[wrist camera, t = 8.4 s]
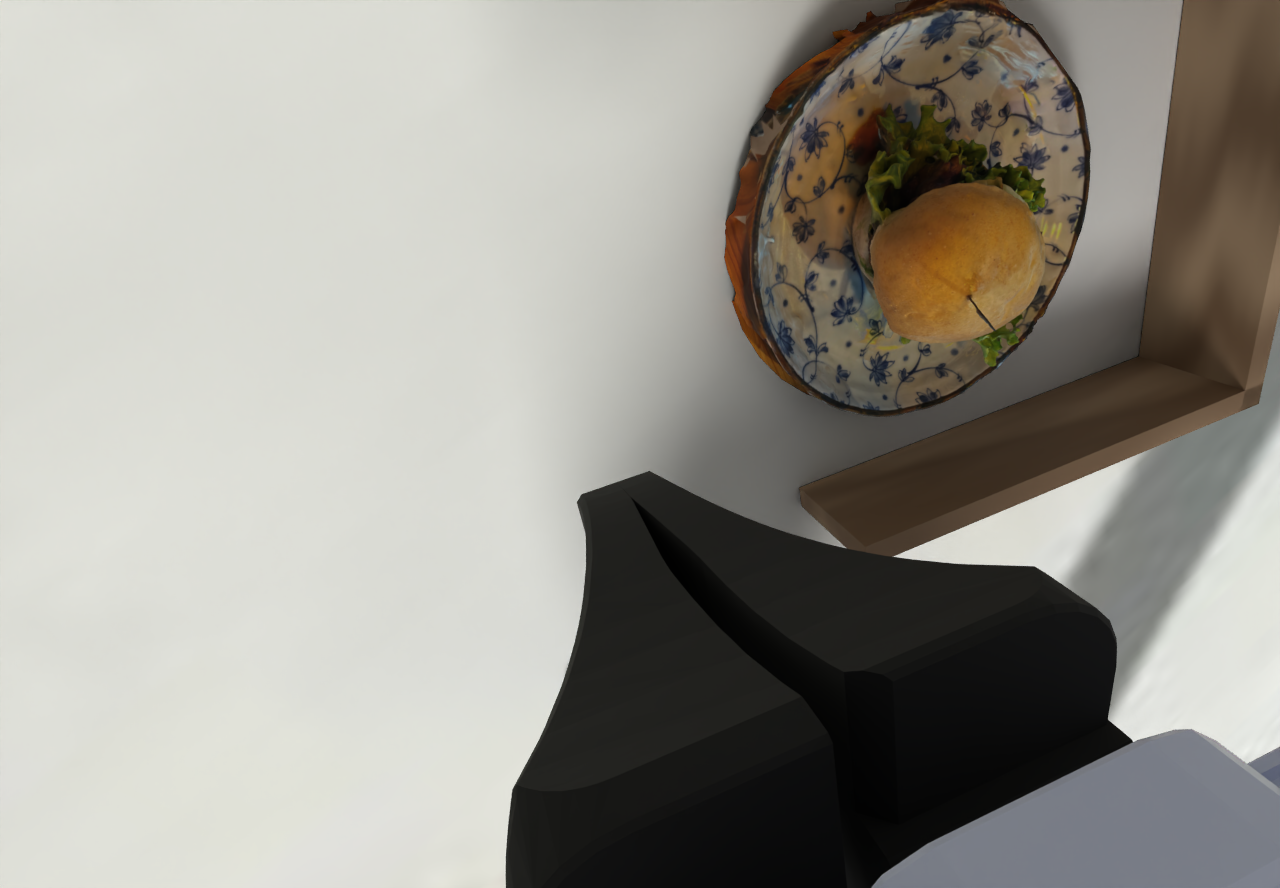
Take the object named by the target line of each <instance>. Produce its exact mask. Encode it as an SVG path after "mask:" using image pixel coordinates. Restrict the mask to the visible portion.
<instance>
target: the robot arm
mask: <svg viewBox="0 0 1280 888" xmlns="http://www.w3.org/2000/svg"><path fill="white" fill-rule="evenodd" d="M577 504H578V508H579V512H580V515H581V519H582V522H583V526H584V529H585V533H586V574H585V585H584V596H583V603H582V610H581V616H580V621H579V626H578V630H577V635H576V639H575V643H574V647H573V651H572V654H571V658H570V661H569V665H568V668H567V671H566V675H565V678H564V681H563V684H562V686H561V689H560V692H559V694H558V696H557V699H556V701H555V704H554V706H553V709H552V711H551V714H550V716H549V719H548V721H547V723H546V726H545V728H544V730H543V733H542V735H541V737H540V739H539V741H538V743H537V745H536V747H535V749H534V750H533V752H532V754H531V756H530V758H529V760H528V762H527V764H526V765H525V767H524V769H523V771H522V773H521V775H520V777H519V779H518V780H517V782H516V784H515V786H514V788H513V790H512V798H511V806H510V815H509V824H508V835H507V848H506V888H1280V747H1279V748H1277V749H1275V750H1273V751H1271V752H1269V753H1267V754H1265V755H1263V756H1261V757H1259V758H1257V759H1255V760H1254V761H1252V762H1250V763H1248V764H1246V763H1245V762H1244V761H1242V760H1241V759H1240V758H1238V757H1237V756H1236V755H1234V754H1233V753H1232V752H1230V751H1229V750H1228V749H1226V748H1225V747H1224V746H1222V745H1221V744H1220V743H1218V742H1217V741H1216V740H1214V739H1211V738H1209V737H1207V736H1205V735H1203V734H1201V733H1199V732H1197V731H1194V730H1192V729H1182V730H1172V731H1169V732H1165V733H1161V734H1158V735H1154V736H1151V737H1147V738H1144V739H1140V740H1137V741H1135V742H1133V741H1132V739H1130V738H1129V737H1128V736H1127V735H1126V734H1124V733H1123V732H1122V731H1121V730H1120V729H1118V728H1117V727H1116V726H1115V725H1114V724H1112V723H1111V722H1110V721H1109V720H1108V713H1109V707H1110V701H1111V695H1112V689H1113V683H1114V677H1115V671H1116V659H1117V641H1116V636H1115V633H1114V631H1113V628H1112V625H1111V622H1110V620H1109V619H1107V618H1106V617H1105V616H1104V615H1103V614H1102V613H1101V612H1100V611H1099V610H1098V609H1097V608H1095V607H1094V606H1092V605H1091V604H1090V603H1088V602H1087V601H1085V600H1084V599H1082V598H1081V597H1079V596H1078V595H1076V594H1075V593H1074V592H1072V591H1071V590H1069V589H1068V588H1066V587H1065V586H1063V585H1062V584H1061V583H1059V582H1058V581H1056V580H1055V579H1053V578H1052V577H1050V576H1049V575H1047V574H1046V573H1044V572H1043V571H1041V570H1039V569H1038V568H1036V567H1034V566H1001V565H968V564H951V563H941V562H931V561H921V560H912V559H904V558H897V557H890V556H883V555H878V554H873V553H867V552H862V551H857V550H851V549H846V548H842V547H837V546H833V545H829V544H825V543H821V542H817V541H814V540H810V539H807V538H803V537H800V536H796V535H793V534H789V533H786V532H783V531H780V530H777V529H774V528H771V527H769V526H766V525H764V524H761V523H758V522H756V521H753V520H750V519H748V518H745V517H743V516H740V515H738V514H736V513H733V512H731V511H728V510H726V509H724V508H722V507H720V506H717V505H715V504H713V503H711V502H709V501H707V500H705V499H703V498H701V497H698V496H696V495H694V494H692V493H690V492H689V491H687V490H685V489H683V488H681V487H679V486H677V485H675V484H673V483H671V482H669V481H667V480H665V479H664V478H662V477H660V476H658V475H656V474H654V473H652V472H650V471H648V472H645V473H642V474H640V475H637V476H634V477H631V478H628V479H625V480H622V481H619V482H616V483H613V484H610V485H608V486H605V487H602V488H599V489H596V490H593V491H590V492H587V493H584V494H582V495H581V496H580V498H579V500H578V501H577Z"/></svg>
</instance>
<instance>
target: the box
mask: <svg viewBox="0 0 1280 888" xmlns="http://www.w3.org/2000/svg"><path fill="white" fill-rule="evenodd" d="M1279 309H1280V0H1184V4H1183V12H1182V20H1181V28H1180V36H1179V44H1178V52H1177V59H1176V67H1175V75H1174V83H1173V91H1172V99H1171V107H1170V115H1169V123H1168V130H1167V138H1166V146H1165V154H1164V162H1163V170H1162V178H1161V186H1160V194H1159V202H1158V209H1157V217H1156V225H1155V233H1154V241H1153V249H1152V257H1151V265H1150V273H1149V281H1148V288H1147V296H1146V304H1145V312H1144V320H1143V328H1142V336H1141V344H1140V352H1139V357H1136V358H1133V359H1131V360H1128V361H1126V362H1123V363H1121V364H1118V365H1115V366H1113V367H1110V368H1108V369H1105V370H1102V371H1100V372H1097V373H1095V374H1092V375H1090V376H1087V377H1084V378H1082V379H1079V380H1077V381H1074V382H1071V383H1069V384H1066V385H1064V386H1061V387H1058V388H1056V389H1053V390H1051V391H1048V392H1046V393H1043V394H1040V395H1038V396H1035V397H1033V398H1030V399H1027V400H1025V401H1022V402H1020V403H1017V404H1015V405H1012V406H1009V407H1007V408H1004V409H1002V410H999V411H996V412H994V413H991V414H989V415H986V416H983V417H981V418H978V419H976V420H973V421H971V422H968V423H965V424H963V425H960V426H958V427H955V428H952V429H950V430H947V431H945V432H942V433H940V434H937V435H934V436H932V437H929V438H927V439H924V440H921V441H919V442H916V443H914V444H911V445H909V446H906V447H903V448H901V449H898V450H896V451H893V452H890V453H888V454H885V455H883V456H880V457H877V458H875V459H872V460H870V461H867V462H865V463H862V464H859V465H857V466H854V467H852V468H849V469H846V470H844V471H841V472H839V473H836V474H834V475H831V476H828V477H826V478H823V479H821V480H818V481H815V482H813V483H810V484H808V485H805V486H802V487H800V488H799V489H800V497H801V504H802V507H803V508H804V509H805V510H806V511H807V512H809V513H810V514H811V515H812V516H813V517H814V518H815V519H816V520H817V521H818V522H819V523H820V524H821V525H822V526H824V527H825V528H826V529H827V530H828V531H829V532H830V533H831V534H832V535H833V536H834V537H835V538H836V539H837V540H839V541H840V542H841V543H842V544H843V545H844V546H845V547H846V548H847V549H851V550H857V551H862V552H867V553H873V554H878V555H883V556H890V557H893V556H895V555H898V554H900V553H902V552H905V551H907V550H910V549H912V548H914V547H917V546H919V545H922V544H924V543H926V542H929V541H931V540H934V539H936V538H938V537H941V536H943V535H946V534H948V533H950V532H953V531H955V530H958V529H960V528H962V527H965V526H967V525H969V524H972V523H974V522H977V521H979V520H981V519H984V518H986V517H989V516H991V515H993V514H996V513H998V512H1001V511H1003V510H1005V509H1008V508H1010V507H1013V506H1015V505H1017V504H1020V503H1022V502H1025V501H1027V500H1029V499H1032V498H1034V497H1036V496H1039V495H1041V494H1044V493H1046V492H1048V491H1051V490H1053V489H1056V488H1058V487H1060V486H1063V485H1065V484H1068V483H1070V482H1072V481H1075V480H1077V479H1080V478H1082V477H1084V476H1087V475H1089V474H1092V473H1094V472H1096V471H1099V470H1101V469H1104V468H1106V467H1108V466H1111V465H1113V464H1115V463H1118V462H1120V461H1123V460H1125V459H1127V458H1130V457H1132V456H1135V455H1137V454H1139V453H1142V452H1144V451H1147V450H1149V449H1151V448H1154V447H1156V446H1159V445H1161V444H1163V443H1166V442H1168V441H1171V440H1173V439H1175V438H1178V437H1180V436H1182V435H1185V434H1187V433H1190V432H1192V431H1194V430H1197V429H1199V428H1202V427H1204V426H1206V425H1209V424H1211V423H1214V422H1216V421H1218V420H1221V419H1223V418H1226V417H1228V416H1230V415H1233V414H1235V413H1238V412H1240V411H1242V410H1245V409H1247V408H1250V407H1252V406H1254V405H1257V404H1259V399H1260V395H1261V390H1262V386H1263V381H1264V377H1265V372H1266V368H1267V363H1268V359H1269V354H1270V350H1271V345H1272V340H1273V336H1274V331H1275V327H1276V322H1277V318H1278V313H1279Z"/></svg>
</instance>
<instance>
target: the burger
mask: <svg viewBox="0 0 1280 888" xmlns="http://www.w3.org/2000/svg"><path fill="white" fill-rule="evenodd" d="M833 35H834V38H835V39H838V40H839V42H838V43H837V44H836V45H834V46H833V47H831V48H830V49H828V50H826V51H824V52H821V53H820V54H818V55H816V56H815V57H813V58H812V59H810V60H809V61H808V62H806V63H805V64H803V65H802V66H801V67H799V68H798V69H797V70H795V71H794V72H793V73H792V74H791V75H790V76H788V77H787V78H786V79H785V80H784V81H783V82H782V83H781V84H780V85H779V86H778V87H777V88H776V89H775V90H774V91H773V94H772V96H771V98H770V101H769V102H768V103H767V104H766V105H765V107H766V112H765V113H764V115H763V116H762V117H761V119H760V120H759V121H758V122H757V123H756V124H755V126H753V128H752V129H751V132H750V136H751V149H750V151H749V153H748V156H747V160H746V162H745V164H744V166H743V167H742V169H741V170H740V172H739V176H740V180H741V187H740V190H739V193H738V196H737V201H736V206H735V210H734V212H733V213H732V214H731V215H730V216H729V217H728V219H727V221H726V224H725V225H726V230H725V234H726V249H725V256H724V258H725V262H726V266H727V270H728V273H729V276H730V279H731V281H732V284H733V286H734V289H735V292H736V295H735V298H734V299H735V301H732V302H733V305H734V308H735V311H736V314H737V316H738V319H739V322H740V325H741V327H742V330H743V332H744V333H745V335H746V336H747V338H748V340H749V341H750V343H751V344H752V346H753V347H754V349H755V351H756V352H757V354H758V355H759V357H760V358H761V359H762V360H763V361H764V362H765V363H766V364H767V365H768V366H769V367H770V368H771V369H772V370H773V371H774V372H775V373H776V374H777V375H778V376H779V377H780V378H781V379H782V380H784V381H785V382H787V383H789V384H791V385H792V386H794V387H796V388H797V389H799V390H801V391H802V392H804V393H806V394H808V395H811V396H814V397H816V398H818V399H820V400H821V401H823V402H825V403H827V404H828V405H830V406H832V407H835V408H838V409H840V410H843V411H848V412H852V413H856V414H860V415H865V416H876V417H887V416H897V415H902V414H905V413H909V412H912V411H916V410H921V409H925V408H929V407H933V406H936V405H938V404H941V403H943V402H945V401H947V400H949V399H951V398H954V397H956V396H957V395H959V394H962V393H963V392H965V390H967V389H968V388H969V387H971V386H972V385H974V384H975V383H976V382H978V380H980V379H982V378H983V377H984V376H986V375H987V374H989V373H991V372H992V371H993V370H994V369H998V367H999V366H1001V365H1002V363H1003V362H1004V361H1005V359H1006V358H1007V357H1008V356H1009V355H1010V354H1011V353H1012V352H1013V351H1015V350H1016V349H1017V347H1018V346H1019V345H1020V344H1021V343H1022V342H1023V341H1024V340H1025V339H1027V336H1028V335H1029V334H1030V333H1031V332H1032V329H1033V326H1034V325H1035V324H1036V323H1037V320H1038V319H1039V318H1040V317H1042V316H1043V315H1044V314H1045V312H1046V309H1047V307H1048V304H1049V303H1050V302H1051V300H1052V298H1053V297H1054V295H1055V293H1056V290H1057V288H1058V286H1059V284H1060V281H1061V279H1062V278H1063V276H1064V274H1065V272H1066V270H1067V268H1068V266H1069V264H1070V261H1071V258H1072V255H1073V251H1074V248H1075V245H1076V242H1077V240H1078V237H1079V235H1080V232H1081V229H1082V225H1083V222H1084V217H1085V211H1086V205H1087V199H1088V192H1089V182H1090V152H1091V149H1090V141H1089V134H1088V128H1087V122H1086V116H1085V110H1084V105H1083V101H1082V97H1081V94H1080V92H1079V90H1078V88H1077V86H1076V85H1075V84H1074V82H1073V81H1072V79H1071V78H1070V77H1069V75H1068V74H1067V72H1066V71H1065V70H1064V68H1063V67H1062V65H1061V64H1060V63H1059V61H1058V60H1057V59H1056V57H1055V56H1054V54H1053V53H1052V52H1051V50H1050V49H1049V47H1048V46H1047V44H1046V43H1045V42H1044V40H1043V39H1042V37H1041V36H1040V34H1039V33H1038V31H1037V30H1036V29H1035V27H1034V26H1033V24H1030V23H1025V22H1023V21H1022V20H1020V19H1019V18H1018V17H1016V16H1015V15H1014V14H1013V13H1011V12H1010V11H1009V10H1007V8H1006V6H1005V4H1004V2H1002V1H1000V0H911V1H906V2H902V3H897V4H895V13H894V14H891V15H884V16H879V17H876V16H875V15H874V14H873V13H872V12H871V11H870V12H868V13H867V17H866V22H860V23H859V24H858V26H857V27H856V29H855V30H853V31H852V32H850V31H848V30H847V29H846V30H840V31H835V32H833Z"/></svg>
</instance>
